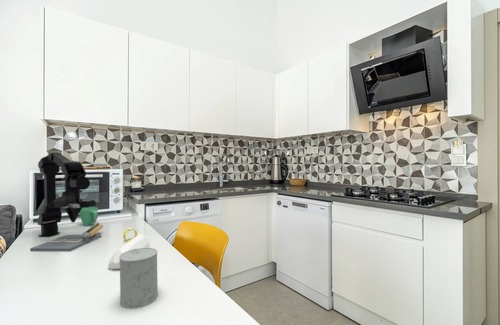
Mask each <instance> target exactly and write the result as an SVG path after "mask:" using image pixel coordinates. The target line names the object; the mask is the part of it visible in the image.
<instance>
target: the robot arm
mask: <svg viewBox="0 0 500 325" xmlns="http://www.w3.org/2000/svg"><path fill="white" fill-rule="evenodd" d="M37 165H38V166H37V167H38V168H39V172H40V173H41V175H42V176H43V188H44V189H43V192H44V205H43V206H42V208H41V209H40V213H39V215H38V218H37V220H36V223H37V225H38V226H40V231H41V232H40V234H39V235H38V237H39V238H41V237H43V238H44V237H45V238H49V237H50V238H51V237H53V236H56V235H60V233H61V232H59V226H58V223H61V222H62V215H63V212H62V210H63V211H65V212H66V213H67V216H68V218H69V220H70V223H75V222H76V220H77V218H78V216H79V215H80V214H79V213H80V211H81V209H82V208H87V207H97V202H96V199H85V200H83V198H81V193H83V190H84V191H85V190H87V189H88V188H89V187H90V185H91V181H90V179H89V178H88V177H86V176H87V172H86V170H85V168H84V166H83V164H82V163H81V162H80V161H78V160H70V159H69V158H68V157H66V156H65V155H63V153H61V152H51V153H50V152H49V154H48V155H46V156H44V157H41V158H40V159H39V161H38V164H37ZM60 171H61V172H62V174H63V175H64V177H63V179H64V191H62V195H61V196H59V197H57V187H56V184H57V183H56V182H57V181H56V180H57V179H56V176H57V174H58V173H59V172H60Z"/></svg>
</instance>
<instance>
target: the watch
mask: <svg viewBox="0 0 500 325" xmlns="http://www.w3.org/2000/svg"><path fill="white" fill-rule="evenodd" d="M129 231H134V236H133V238H135V237H136V236H137V235H138V231H137V230H136V229H135V228H134V227H128V228H126V230H124V232H123V236H122V237H123V239H124V240H125V241H126V242H129V241H131V240H132V239H133V238H131V239H127V238H126V234H127V232H129Z"/></svg>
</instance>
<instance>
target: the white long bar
mask: <svg viewBox="0 0 500 325" xmlns="http://www.w3.org/2000/svg"><path fill="white" fill-rule="evenodd" d="M131 239H132V240H131V241H127V243H125V244H124V245H123V246H122V247H119V249H116V251H115V252H114V253H113V255H112V256H111V258H110V259H109V261H108V264H107V265H108V267H107V268H108V269H110V270H113V271H114V270H120V259H119V257H120V255H121V254H123V253H125V252H127V251H130V250H133V249H139V248H151V247H150V241H149V240H148V238H147V236H146V235H144V234H143V233H142V232H141V233H138V234H137V236H136V237H135V238H134V237H133V238H131Z"/></svg>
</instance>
